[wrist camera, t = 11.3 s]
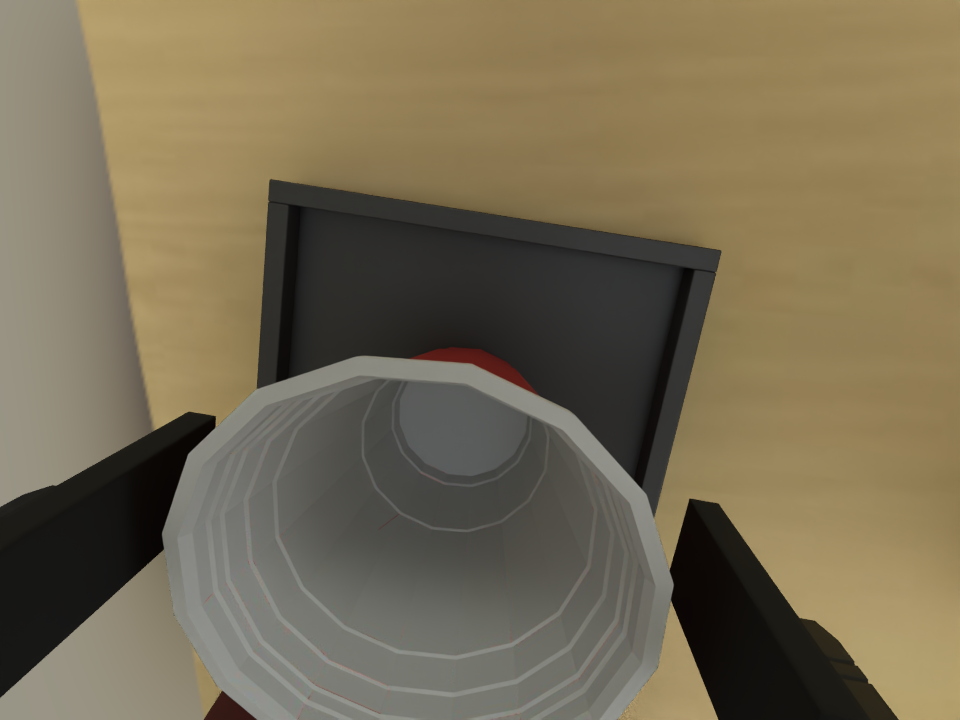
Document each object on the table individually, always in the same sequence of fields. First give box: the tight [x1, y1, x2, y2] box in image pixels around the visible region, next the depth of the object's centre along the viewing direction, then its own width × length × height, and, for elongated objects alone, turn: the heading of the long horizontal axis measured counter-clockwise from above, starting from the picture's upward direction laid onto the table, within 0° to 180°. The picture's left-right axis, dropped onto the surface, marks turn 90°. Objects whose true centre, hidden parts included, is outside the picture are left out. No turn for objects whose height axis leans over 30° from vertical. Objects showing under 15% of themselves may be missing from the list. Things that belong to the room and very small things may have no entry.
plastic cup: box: [162, 347, 674, 720], centre depth 17 cm, size 11×11×12 cm
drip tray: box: [257, 179, 721, 518], centre depth 23 cm, size 17×17×2 cm
